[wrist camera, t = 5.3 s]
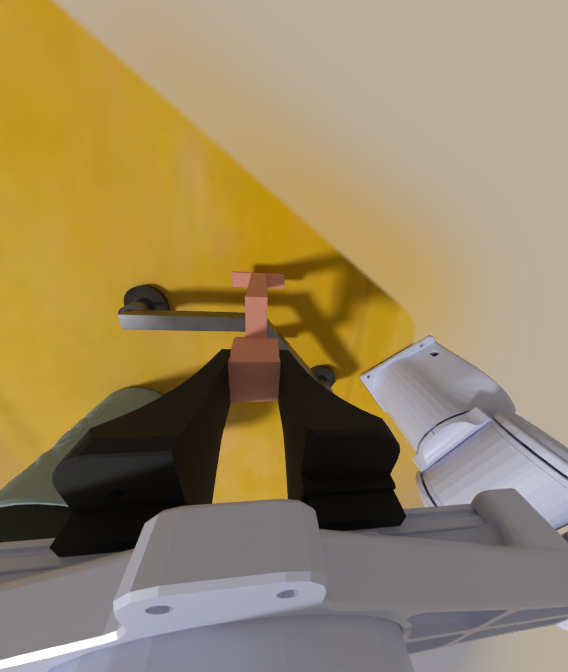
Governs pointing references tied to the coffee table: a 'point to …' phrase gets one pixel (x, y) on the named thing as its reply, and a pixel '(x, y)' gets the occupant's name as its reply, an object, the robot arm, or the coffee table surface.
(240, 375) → the pink blocky toy figure
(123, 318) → the wheeled bent frame
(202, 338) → the coffee table surface
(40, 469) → the green tapered cup
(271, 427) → the coffee table surface
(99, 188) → the coffee table surface
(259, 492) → the coffee table surface
